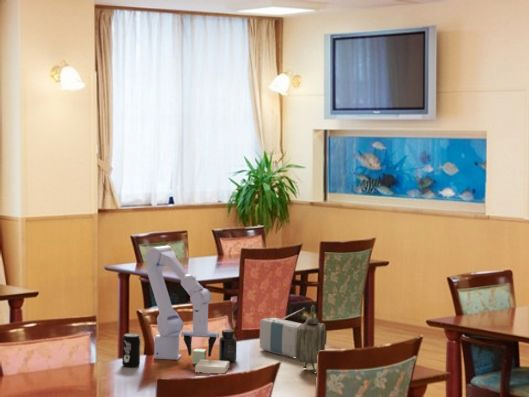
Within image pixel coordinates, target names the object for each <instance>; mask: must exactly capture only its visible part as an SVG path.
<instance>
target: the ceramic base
mask: <svg viewBox="0 0 529 397" xmlns="http://www.w3.org/2000/svg"><path fill="white" fill-rule="evenodd" d="M194 368H195V370H194V371H195V373H196V372H198V373H196V374H200V373H199V372H202V373H201V374H210V373H225V372H226V373H227V372H228V370H229V369H230V362H229V361H219V360H218V359H217V360H215V359H213V360H212V359H206V360H200V361H199V362H198V363H197V364H195V367H194ZM228 368H229V369H228ZM226 373H225V374H226Z"/></svg>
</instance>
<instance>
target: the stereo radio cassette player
mask: <svg viewBox="0 0 529 397" xmlns="http://www.w3.org/2000/svg"><path fill="white" fill-rule="evenodd" d="M304 309H306V308H305V307H303V308H302V309H299V310H297V311H295V312H292V313H290V314H288V315H285V316H284V317H283V318H278V317H269V318H268V317H267V318H261V319H260V324H259V348H260V349H261V350H263V351H264V350H265V351H267V352H269V353H274V354H278V355H281V356H285V355H287V356H286V357H288V356H291V357H290V358H292V357H296V337H297V329H298V327H299V326H300V325H301V324H302V323H301V322H296V321H292V320H286V319H287V318H289V317H290V316H293V315H294V314H297V313H299V312H301V311H302V310H304Z"/></svg>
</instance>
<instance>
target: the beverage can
mask: <svg viewBox="0 0 529 397" xmlns="http://www.w3.org/2000/svg"><path fill="white" fill-rule="evenodd" d="M123 335H124V336H123V338H122V357H121V358H122V363H121V364H122V365H123V367H125V368H138V367H139V366H140V364H141V337H140V334H139V333H136V332H135V333H134V332H130V333H125V334H123Z"/></svg>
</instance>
